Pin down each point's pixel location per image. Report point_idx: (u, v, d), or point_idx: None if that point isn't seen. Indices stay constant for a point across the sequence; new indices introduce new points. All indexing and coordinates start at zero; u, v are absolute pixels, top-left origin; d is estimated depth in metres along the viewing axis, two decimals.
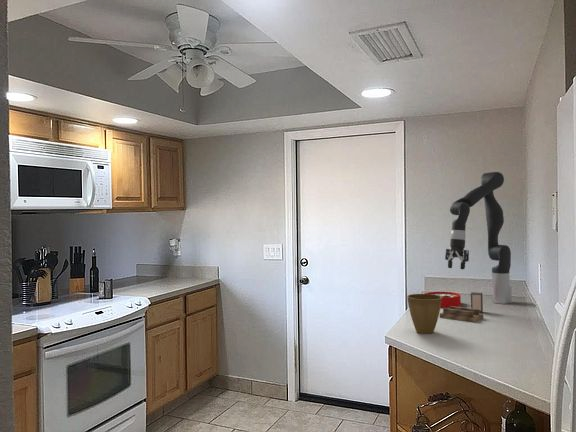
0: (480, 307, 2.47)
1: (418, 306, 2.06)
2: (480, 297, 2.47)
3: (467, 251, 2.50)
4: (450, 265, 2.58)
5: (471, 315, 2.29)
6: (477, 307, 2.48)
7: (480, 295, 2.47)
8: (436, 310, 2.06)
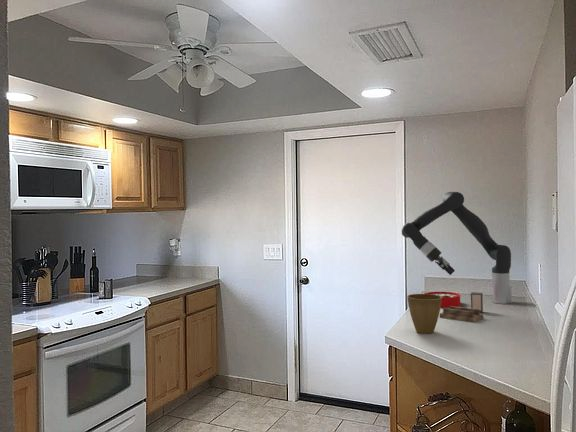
0: (480, 307, 2.47)
1: (418, 306, 2.06)
2: (480, 297, 2.47)
3: (437, 260, 2.51)
4: (451, 270, 2.58)
5: (471, 315, 2.29)
6: (477, 307, 2.48)
7: (480, 295, 2.47)
8: (436, 310, 2.06)
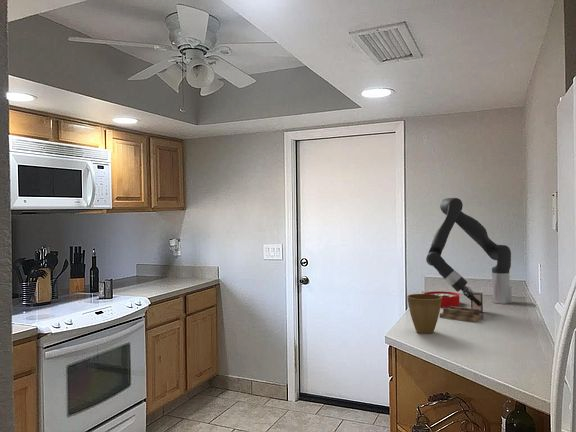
0: (480, 307, 2.47)
1: (418, 306, 2.06)
2: (480, 297, 2.47)
3: (466, 293, 2.45)
4: None
5: (471, 315, 2.29)
6: (477, 307, 2.48)
7: (480, 295, 2.47)
8: (436, 310, 2.06)
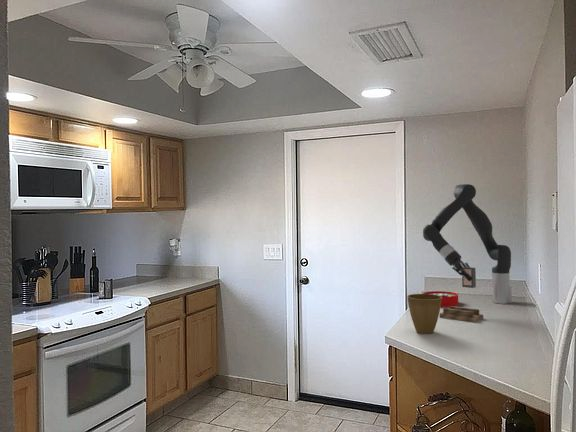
0: (470, 282, 2.41)
1: (418, 306, 2.06)
2: (470, 272, 2.41)
3: (455, 267, 2.42)
4: None
5: (471, 315, 2.29)
6: (468, 282, 2.42)
7: (470, 270, 2.41)
8: (436, 310, 2.06)
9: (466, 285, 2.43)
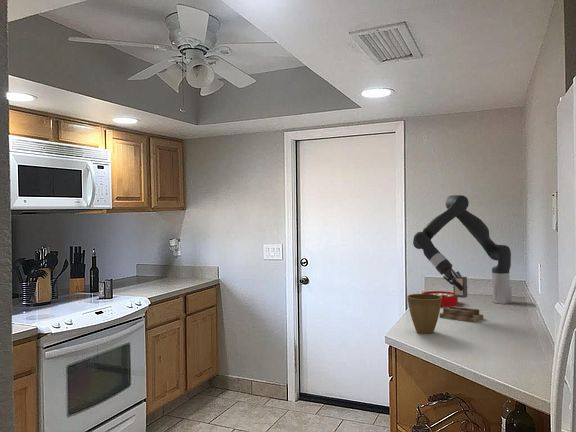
0: (462, 292, 2.34)
1: (418, 306, 2.06)
2: (462, 281, 2.34)
3: (445, 276, 2.35)
4: None
5: (471, 315, 2.29)
6: (459, 291, 2.35)
7: (462, 279, 2.34)
8: (436, 310, 2.06)
9: (457, 295, 2.35)
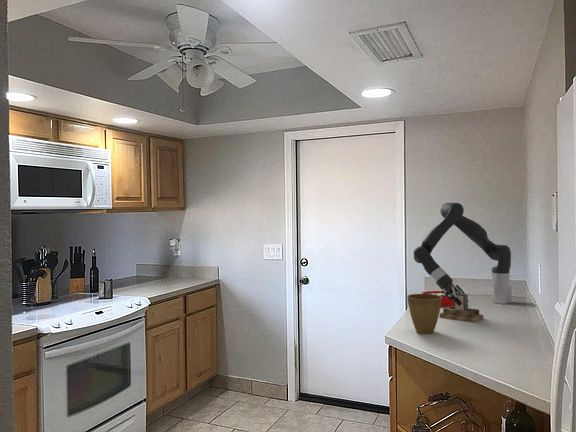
0: (462, 309, 2.34)
1: (418, 306, 2.06)
2: (462, 298, 2.34)
3: (444, 290, 2.35)
4: None
5: (471, 315, 2.29)
6: (460, 309, 2.35)
7: (462, 296, 2.34)
8: (436, 310, 2.06)
9: None
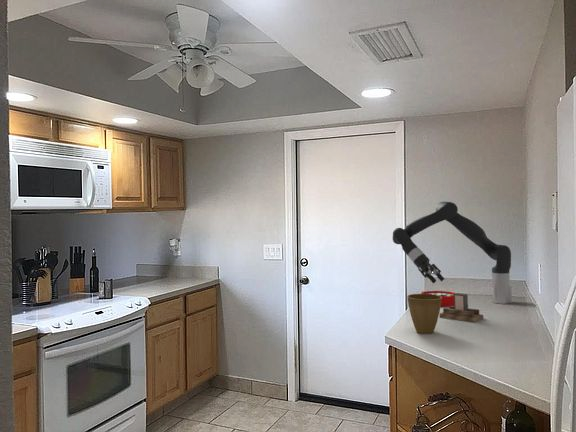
0: (462, 309, 2.34)
1: (418, 306, 2.06)
2: (462, 298, 2.34)
3: (420, 268, 2.44)
4: (440, 278, 2.48)
5: (471, 315, 2.29)
6: (460, 309, 2.35)
7: (462, 296, 2.34)
8: (436, 310, 2.06)
9: None
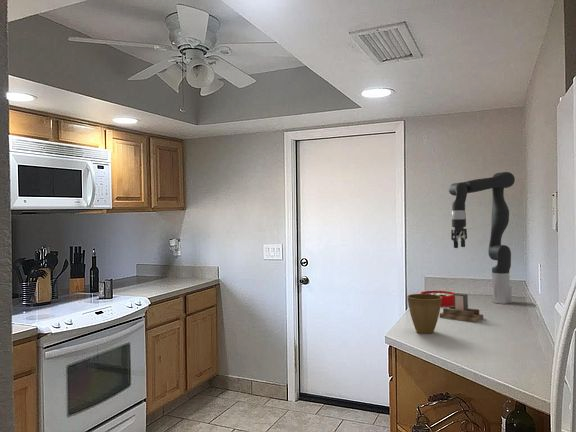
0: (462, 309, 2.34)
1: (418, 306, 2.06)
2: (462, 298, 2.34)
3: (453, 230, 2.59)
4: (462, 244, 2.67)
5: (471, 315, 2.29)
6: (460, 309, 2.35)
7: (462, 296, 2.34)
8: (436, 310, 2.06)
9: None
